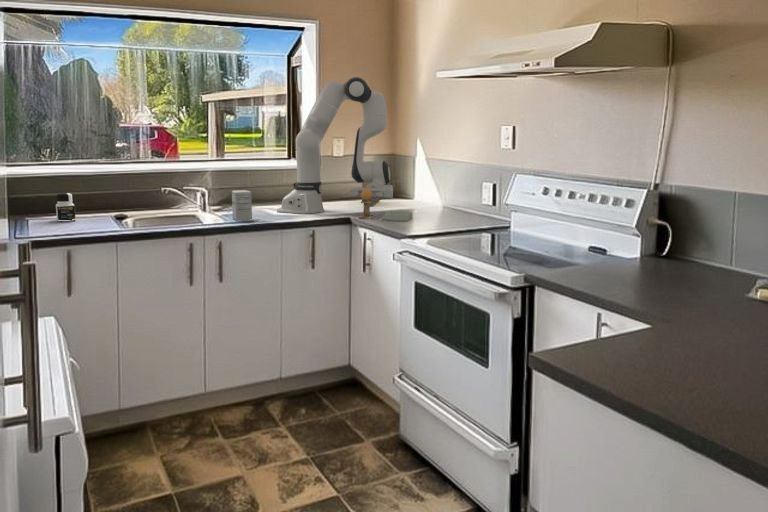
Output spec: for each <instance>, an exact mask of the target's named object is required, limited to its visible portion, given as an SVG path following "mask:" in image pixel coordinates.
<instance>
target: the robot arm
mask: <svg viewBox="0 0 768 512" xmlns="http://www.w3.org/2000/svg"><path fill="white" fill-rule="evenodd" d="M346 100H349V101H352V102H356V103H360V104H361V106H362V111H363V112H362V114H363V120H362V124H361V126H360V127H358V129H357V131H356V135H355V141H354V142H355V143H354V151H353V152H354V153H353V161H352V166H351V171H350V173H351V178H352V179H353V180H354V181H355V182H356V183H358V184H360V183H361V184H362V182H371V183H369V184H368V185H367V186H366V188H362V187H351V188H349V191H348V194H349V195H348V196H349V197H353V198H355V197H356V198H362V197H361V192H362V191H363V190H364V189H369V190H370V191H371V192H372V197H371V199H372V201H377V200H380V201H381V200H392V199H393V198H394V188H393V184H390V183H391V181H392V169H391V166H390V165H389V163H387V161H385V160H374V161H372V160H371V161H364V153H365V145H366V142H367V141H368V140H370V139H372V138H374V137H376V136H377V135H380V134H381V133H383V132H384V131H385V130H386V128H387V125H388V110H387V104H386V99H385V96H384V95H383V93H382V92H380V91H375V90H372V89H371V88H370V87H369V85H368V83H367V81H366V80H365V79H363V78H362V77H359V76H352V77H351V78H349V79H348V80H347V81H346V82H343V83H341V82H338V81H336V80H331V81H328V82H327V83H326V85H325V86H324V87H323V88H322V90H321V92H320V93H319V95H318V96H317V99H316V100H315V101H314V103H313V106H312V108H311V110H310V111H309V113H308V115H307V118H306V119H305V121H304V123H303V125H302V128H301V129H300V131H299V132H298V134H297V135H296V137H295V154H296V155H295V156H296V179H297V180H296V182H294V183H292V187H293V190H292V191H290V192H288V193H287V194H286V195H285V196H284V197H283V198H282V200H281V207H278V208H277V209H276V212H277V213H287V214H302V215H303V214H304V215H306V214H318V213H322V212H325V208H324V205H323V199H322V192H323V191H322V190H323V189H322V188H323V187H322V181H321V151H320V150H321V148H320V147H321V146H320V145H321V143H322V141H323V139H324V137H325V136H326V134H327V132H328V129H329V128H330V126H331V124H332V122H333V121H334V119H335V118H336V115H337V113H338V111H339V109H340V107H341V106H342V104H343V102H345V101H346Z"/></svg>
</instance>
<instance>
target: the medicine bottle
mask: <svg viewBox="0 0 768 512" xmlns="http://www.w3.org/2000/svg"><path fill="white" fill-rule="evenodd" d="M56 201H57V203H56V204H55V212H56V213H55V214H56V220H57V219H58V220H72V219H76V220H77V217H76V206H75V204H74V203H73V194H72V193H70V192H60V193H57V194H56Z"/></svg>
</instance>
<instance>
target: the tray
mask: <svg viewBox="0 0 768 512" xmlns="http://www.w3.org/2000/svg"><path fill="white" fill-rule="evenodd" d="M384 216H385V218H384V221H385V220H387V222H388V221H392V222H410V220H412V219H413V211H405V210H404V211H401V210H389V211H387V212H385V213H384Z"/></svg>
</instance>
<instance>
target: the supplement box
mask: <svg viewBox="0 0 768 512" xmlns="http://www.w3.org/2000/svg"><path fill="white" fill-rule="evenodd" d="M252 202H253V201H252V191H249V190H247V189H241V190H240V189H239V190H238V189H237V190H231V203H232V204H231V207H232V208H231V209H232V210H231V211H232V219H233V220H235V221H236V220H243V221H251V220H250V219H252V220H253V209H252V208H253V205H252V204H253V203H252Z"/></svg>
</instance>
